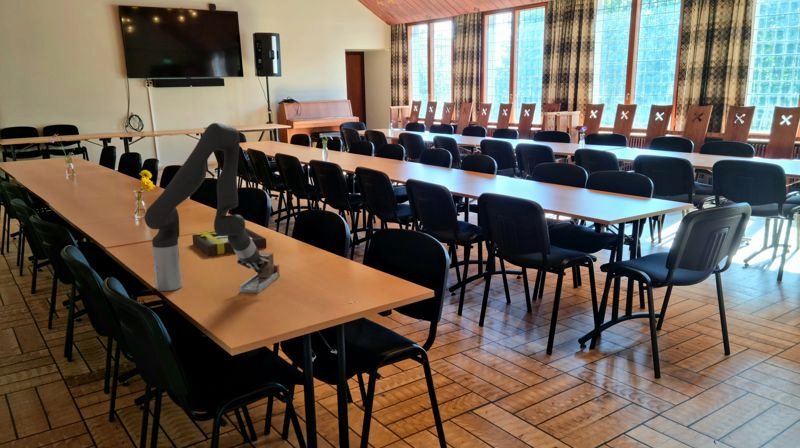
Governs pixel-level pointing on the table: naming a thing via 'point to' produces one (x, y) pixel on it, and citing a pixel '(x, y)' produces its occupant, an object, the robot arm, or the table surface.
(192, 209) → the table surface
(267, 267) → the slider block
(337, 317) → the table surface
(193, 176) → the robot arm
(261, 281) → the track
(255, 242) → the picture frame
